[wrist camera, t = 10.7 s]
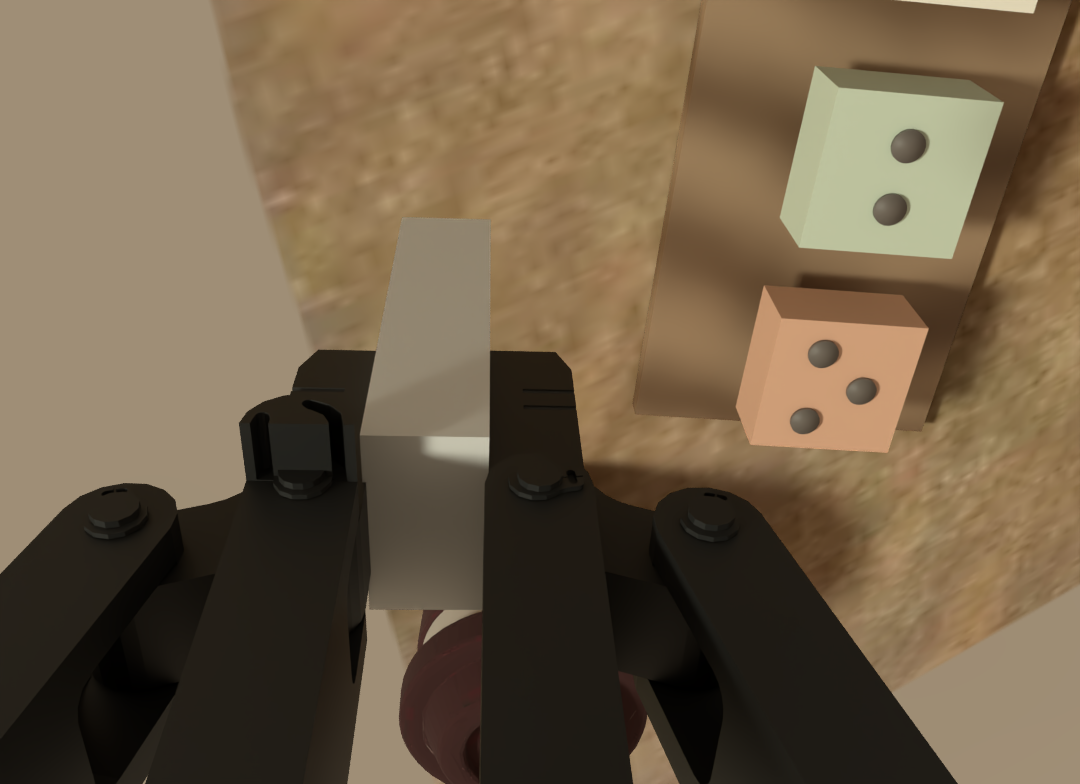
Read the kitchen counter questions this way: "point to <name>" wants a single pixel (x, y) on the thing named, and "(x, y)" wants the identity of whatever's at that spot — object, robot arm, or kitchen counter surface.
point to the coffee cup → (463, 697)
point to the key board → (764, 167)
